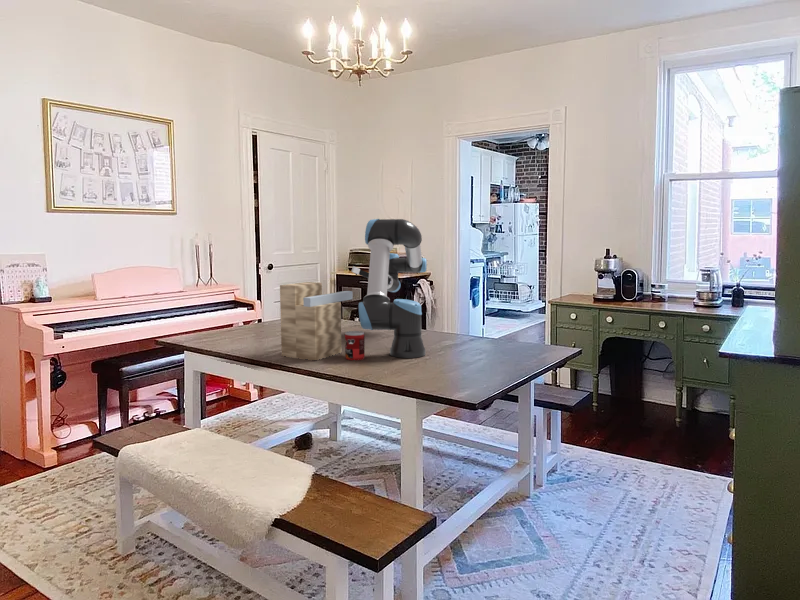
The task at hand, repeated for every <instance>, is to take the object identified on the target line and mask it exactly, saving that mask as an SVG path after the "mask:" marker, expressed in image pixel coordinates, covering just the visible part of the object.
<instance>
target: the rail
mask: <svg viewBox="0 0 800 600" xmlns="http://www.w3.org/2000/svg"><path fill="white" fill-rule="evenodd" d="M353 294H354V292H353V291H352V290H351V291H350V290H344V291H337V292H332V293H325V294H322V295H318V296H311V297H305V298H303V299H304V306H306V307H313V306H318V305H323V304H329V303H334V302H346V301H348V300H349V301H351V300H353V299H354V297H353Z"/></svg>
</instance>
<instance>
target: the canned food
mask: <svg viewBox="0 0 800 600" xmlns="http://www.w3.org/2000/svg"><path fill="white" fill-rule="evenodd" d="M365 346H366V345H365V332H364V331H362V330H349V331H345V332H344V354H345V355H344V356H345V360H347V361H353V360H355V361H363V360H364V359H365V354H366V353H365V351H366V349H365Z"/></svg>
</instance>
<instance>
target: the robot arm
mask: <svg viewBox="0 0 800 600" xmlns="http://www.w3.org/2000/svg"><path fill="white" fill-rule="evenodd" d="M364 233H365V235H364V242H365V244H366V245H367V247H368V249H369V250H370V258H369V269H368V271H365V270H364V269H363V270H362V269H360V268H359V267H356V266H354V265H353V266H352V269H351V271H350V272H351V273H353V274H355V276H357V275H359V276H361V277H364V278H366V279H367V281H368V282H367V293H366V295H365V296H364V297H362V299H363V300H362V301H361V302H358V315H359V316H358V317H359V323H360V326H361V328H362V329H363V330H369V331H374V330H375V331H376V330H377V331H393V339H392V343H391V347H390V348H389V355H390V356H392V357H393V358H402V359H414V358H420V357H421V358H422V357H425V355H426V347H425V345H424V341H423V338H422V315H423V312H422V304H421V303H419V301H415V300H411V299H405V298H404V299H403V298H396V299H394V300H393V302H391V299H390V297H388V292H390V293H397V292H398V291H399V290H400V289H401V282H400V280H399V273H415V274H417V273H419V274H420V273H426V272H427V265H428V264H427V258H425V257H422V256H423V255H422V248H421V247H422V246H421V243H422V241H423V240H422V238H423V237H422V236H423V235H422V233H421V231H420V229H419V228H418V226H416V225H415V224H414V223H413V222H411V221H409V220H407V219H403V218H395V219H394V218H393V219H389V218H388V219H385V218H384V219H383V218H382V219H380V218H376V219H375V218H374V219H370V220H368V221H367V224H366V227H365V231H364ZM395 245H396V246H398V245H402V246H403V247H404V250H405V256H406V257H399V254H398V253H393V252H392V253H391V251H393V249H394V246H395Z"/></svg>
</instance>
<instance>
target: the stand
mask: <svg viewBox="0 0 800 600" xmlns="http://www.w3.org/2000/svg"><path fill="white" fill-rule="evenodd" d="M322 285H323V283H322V282H316V281H315V282H314V281H305V282H296V283H288V284H280V285H279V299H280V300H279V302H280V303H279V304H280V305H279V306H280V309H279V310H280V341H281V342H280V343H281V344H280V345H281V346H280V347H281V357H284V356H286V357H285V358H291V357H292V359H298V358H299V359H300V360H305V359H308V360H307V361H312V360H317V361H320V360H323V359H322V358H324V359H326V358H325V357H327V358H330V357H333V356H335V354H336V355H339V354H338V353H340V354H341V353H342V351H343V350H342V304H341V302H342V301H340V302H334V303H329V304H323V305H318V306H313V307H306V306H304V299H303V298H305V297H311V296H318V295H323V286H322ZM332 355H333V356H332ZM329 356H330V357H329ZM299 359H298V360H299ZM319 359H320V360H319Z"/></svg>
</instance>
